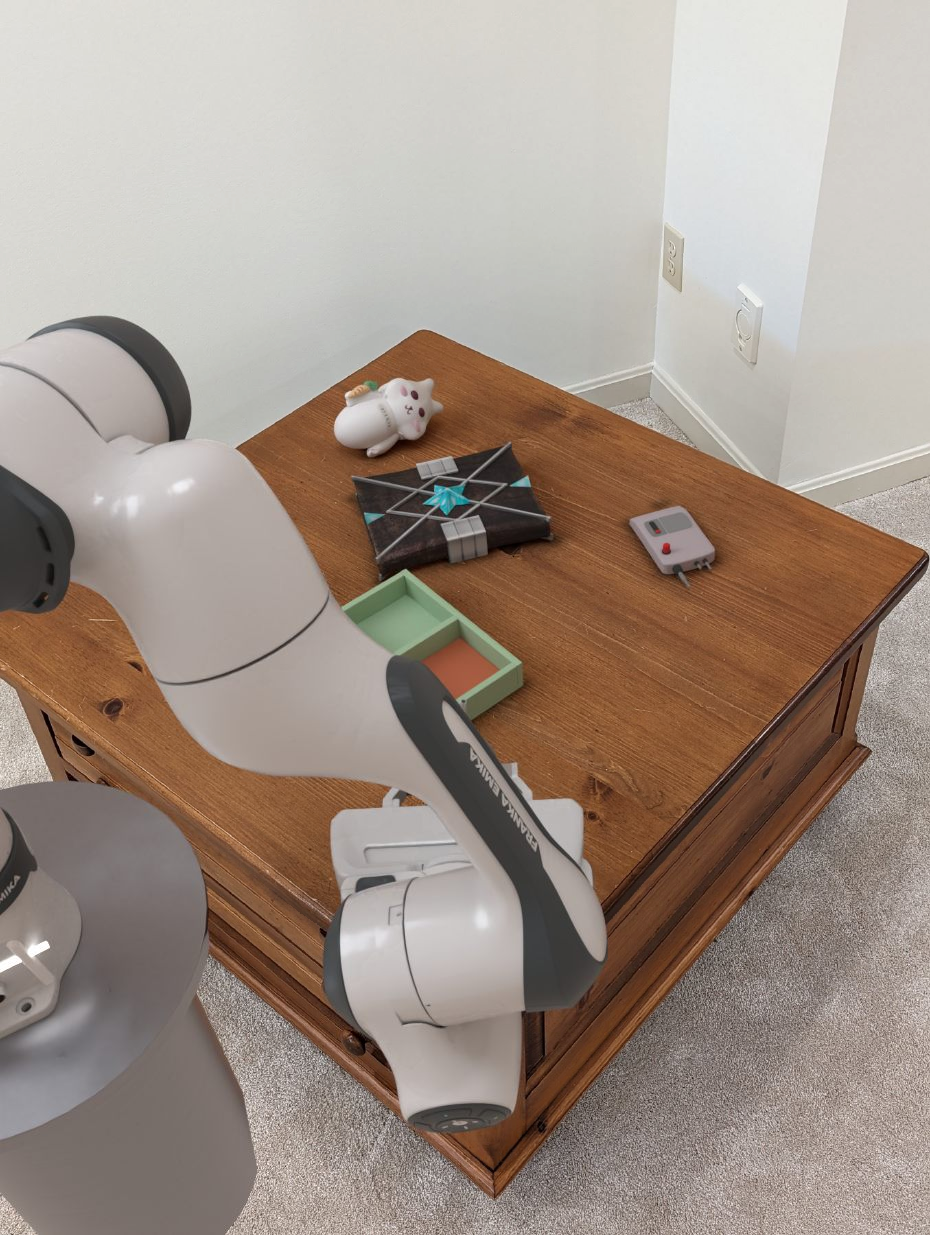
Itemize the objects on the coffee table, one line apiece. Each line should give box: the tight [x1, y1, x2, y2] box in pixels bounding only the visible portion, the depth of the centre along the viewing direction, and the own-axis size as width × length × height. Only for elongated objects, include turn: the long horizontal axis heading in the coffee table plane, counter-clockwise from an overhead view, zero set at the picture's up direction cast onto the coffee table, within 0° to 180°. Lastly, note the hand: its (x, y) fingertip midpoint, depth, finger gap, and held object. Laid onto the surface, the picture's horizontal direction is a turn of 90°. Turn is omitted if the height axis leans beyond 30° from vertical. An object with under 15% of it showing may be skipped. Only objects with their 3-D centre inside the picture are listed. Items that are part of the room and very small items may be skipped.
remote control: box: [629, 505, 716, 589], centre depth 142 cm, size 7×16×3 cm, turn 18°
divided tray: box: [340, 569, 524, 721], centre depth 132 cm, size 11×20×4 cm, turn 39°
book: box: [350, 441, 554, 582], centre depth 148 cm, size 22×17×5 cm
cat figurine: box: [333, 377, 444, 458], centre depth 161 cm, size 10×8×15 cm
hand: (457, 769), depth 101 cm, fingers closed on beverage cup, 7 cm apart
